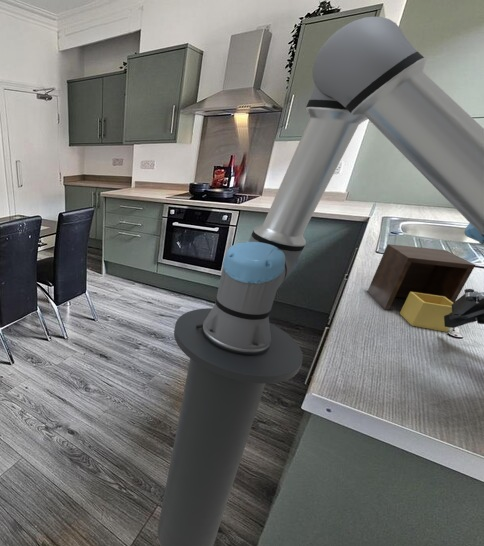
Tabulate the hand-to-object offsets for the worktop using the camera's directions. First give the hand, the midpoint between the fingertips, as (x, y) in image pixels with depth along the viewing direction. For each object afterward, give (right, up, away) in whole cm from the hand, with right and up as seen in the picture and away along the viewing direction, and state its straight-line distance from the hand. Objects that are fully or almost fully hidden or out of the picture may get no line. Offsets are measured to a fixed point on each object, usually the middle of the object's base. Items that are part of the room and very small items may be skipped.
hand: (448, 321), depth 75 cm
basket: (+3, -1, +8) cm, 9 cm away
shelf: (+8, +3, +18) cm, 19 cm away
